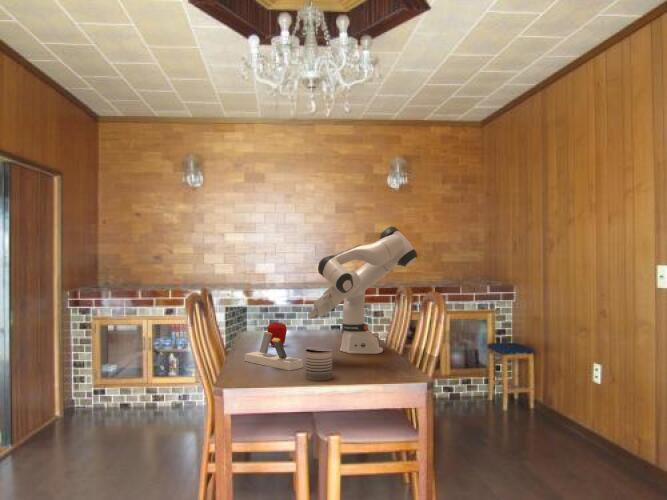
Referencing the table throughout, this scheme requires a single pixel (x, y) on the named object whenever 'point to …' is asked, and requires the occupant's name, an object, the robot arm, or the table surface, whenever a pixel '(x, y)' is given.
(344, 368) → the table surface
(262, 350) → the grey rocker
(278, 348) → the black rocker
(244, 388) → the table surface
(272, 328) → the red rounded lump
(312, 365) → the can
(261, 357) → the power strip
